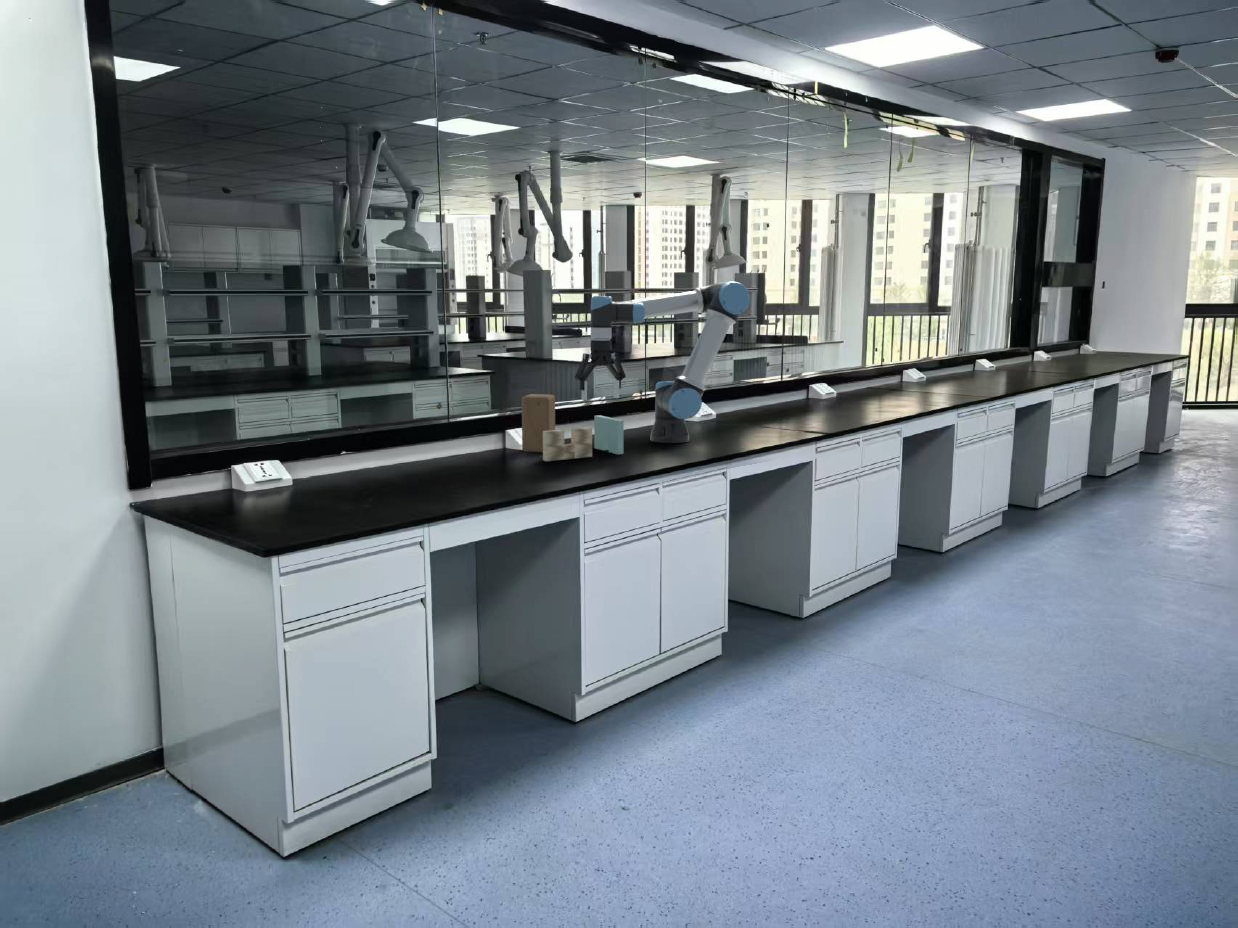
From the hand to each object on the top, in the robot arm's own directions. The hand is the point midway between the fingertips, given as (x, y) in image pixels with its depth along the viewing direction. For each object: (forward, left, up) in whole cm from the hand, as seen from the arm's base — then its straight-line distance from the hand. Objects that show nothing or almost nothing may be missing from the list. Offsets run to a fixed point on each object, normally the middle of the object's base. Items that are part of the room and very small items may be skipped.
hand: (600, 398), depth 323 cm
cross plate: (-2, +5, -19) cm, 19 cm away
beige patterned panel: (+16, +16, -19) cm, 30 cm away
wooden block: (+22, -3, -19) cm, 29 cm away
